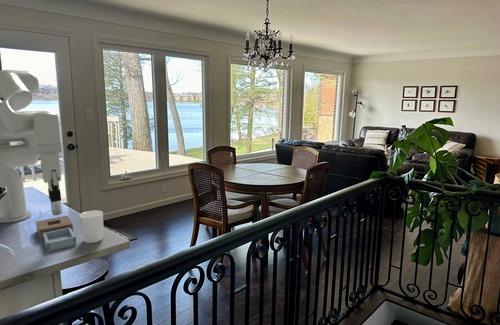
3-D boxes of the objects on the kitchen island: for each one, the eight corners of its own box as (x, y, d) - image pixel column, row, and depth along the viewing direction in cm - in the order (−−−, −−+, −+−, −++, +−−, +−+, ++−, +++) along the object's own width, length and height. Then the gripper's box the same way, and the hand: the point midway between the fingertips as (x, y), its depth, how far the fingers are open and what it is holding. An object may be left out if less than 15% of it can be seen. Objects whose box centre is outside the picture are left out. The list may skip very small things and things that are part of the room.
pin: (51, 213, 120) (47, 182, 118) (61, 212, 122) (57, 181, 120) (52, 216, 118) (48, 184, 116) (62, 214, 120) (58, 183, 117)
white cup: (106, 241, 124) (104, 215, 122) (82, 245, 120) (79, 219, 118) (103, 233, 131) (101, 209, 129) (81, 237, 127) (78, 212, 125)
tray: (43, 240, 124) (42, 233, 123) (71, 234, 129) (70, 227, 129) (47, 251, 115) (46, 243, 115) (76, 244, 121) (75, 237, 120)
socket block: (37, 230, 133) (36, 221, 132) (68, 224, 139) (67, 215, 138) (40, 240, 124) (39, 230, 123) (73, 233, 131) (72, 223, 130)
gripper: (34, 146, 120) (40, 196, 123) (39, 152, 107) (45, 208, 110) (57, 144, 124) (63, 192, 128) (65, 150, 111) (71, 203, 115)
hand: (55, 199), depth 119 cm, fingers closed on pin, 3 cm apart
